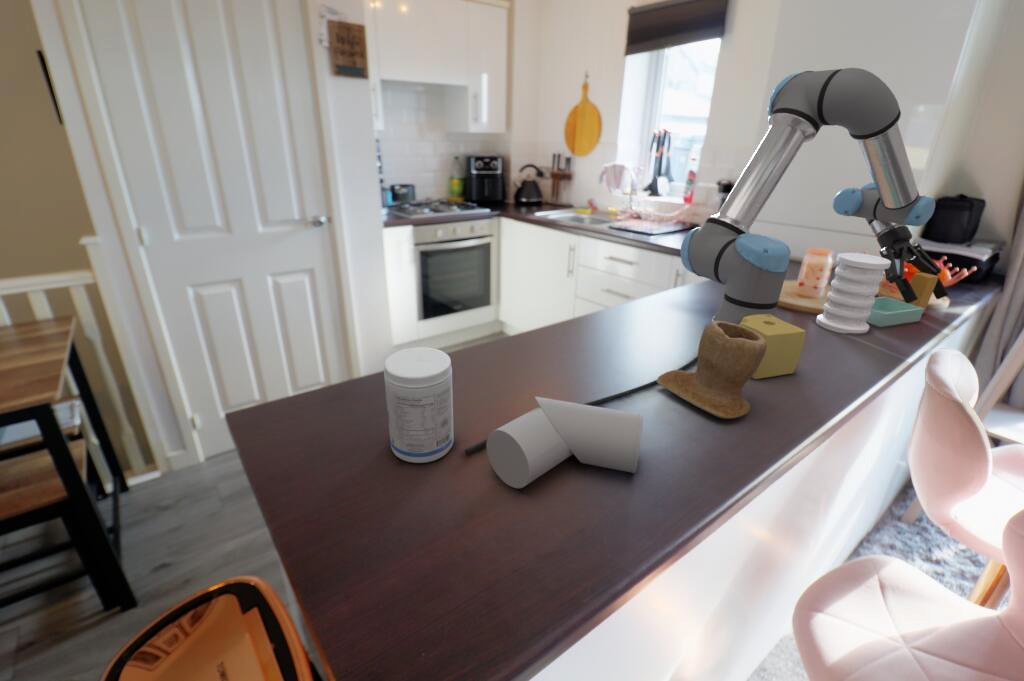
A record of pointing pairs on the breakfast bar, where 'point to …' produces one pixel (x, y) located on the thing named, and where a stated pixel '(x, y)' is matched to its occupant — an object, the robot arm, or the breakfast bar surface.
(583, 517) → the breakfast bar surface
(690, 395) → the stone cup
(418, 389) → the supplement tub
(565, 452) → the l-shaped cylinder
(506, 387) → the breakfast bar surface
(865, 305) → the decorative container
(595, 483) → the breakfast bar surface
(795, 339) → the cheese
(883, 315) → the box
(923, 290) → the mustard block
